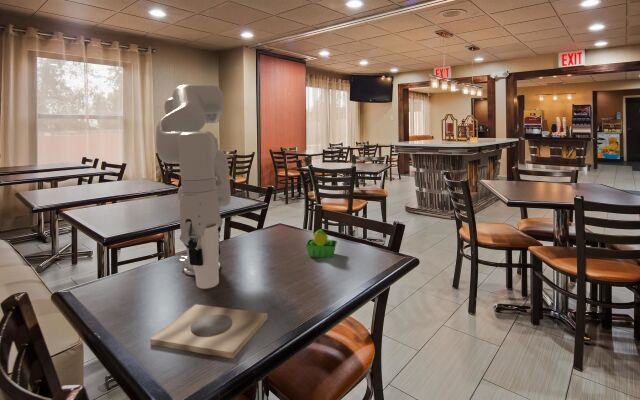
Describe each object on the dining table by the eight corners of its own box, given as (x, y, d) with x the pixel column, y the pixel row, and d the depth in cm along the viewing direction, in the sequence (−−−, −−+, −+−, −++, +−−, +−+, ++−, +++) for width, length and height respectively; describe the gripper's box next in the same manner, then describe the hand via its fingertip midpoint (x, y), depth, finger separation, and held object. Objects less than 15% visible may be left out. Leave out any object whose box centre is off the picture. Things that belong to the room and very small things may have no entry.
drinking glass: (197, 280, 95) (191, 222, 93) (224, 278, 96) (219, 221, 93) (190, 291, 89) (184, 229, 86) (219, 289, 89) (214, 228, 86)
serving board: (150, 344, 90) (149, 337, 89) (195, 309, 107) (195, 303, 106) (233, 358, 83) (232, 351, 83) (267, 318, 100) (267, 312, 100)
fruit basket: (337, 252, 150) (337, 225, 148) (334, 260, 142) (333, 231, 139) (309, 251, 152) (308, 224, 150) (304, 259, 144) (303, 230, 142)
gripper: (206, 180, 97) (212, 247, 100) (159, 192, 81) (168, 271, 84) (232, 181, 95) (237, 249, 98) (189, 193, 78) (197, 274, 82)
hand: (205, 258), depth 91 cm, fingers closed on drinking glass, 6 cm apart
